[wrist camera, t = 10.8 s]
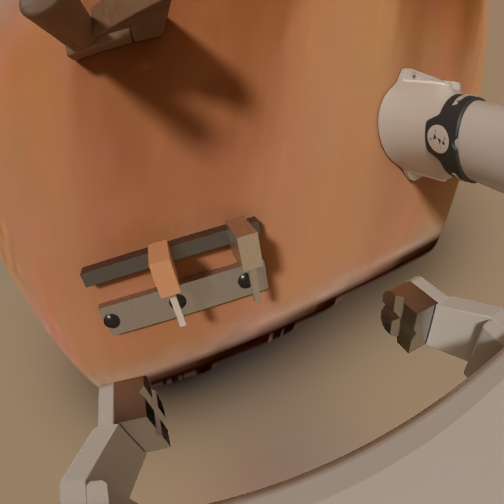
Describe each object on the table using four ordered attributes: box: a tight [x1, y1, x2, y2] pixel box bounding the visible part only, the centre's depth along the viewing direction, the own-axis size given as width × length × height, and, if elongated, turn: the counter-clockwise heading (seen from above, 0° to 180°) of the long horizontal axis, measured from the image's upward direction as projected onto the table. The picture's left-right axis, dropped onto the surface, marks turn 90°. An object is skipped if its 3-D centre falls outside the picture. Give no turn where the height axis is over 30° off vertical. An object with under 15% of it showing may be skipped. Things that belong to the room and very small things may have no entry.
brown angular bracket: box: [19, 0, 171, 60], centre depth 19 cm, size 4×11×18 cm, turn 100°
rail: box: [80, 216, 263, 303], centre depth 38 cm, size 24×10×7 cm, turn 100°
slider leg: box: [148, 239, 187, 327], centre depth 37 cm, size 2×10×5 cm, turn 10°
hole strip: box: [99, 257, 269, 335], centre depth 43 cm, size 24×5×1 cm, turn 100°
